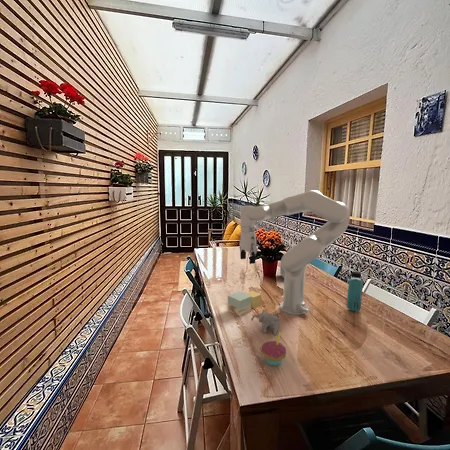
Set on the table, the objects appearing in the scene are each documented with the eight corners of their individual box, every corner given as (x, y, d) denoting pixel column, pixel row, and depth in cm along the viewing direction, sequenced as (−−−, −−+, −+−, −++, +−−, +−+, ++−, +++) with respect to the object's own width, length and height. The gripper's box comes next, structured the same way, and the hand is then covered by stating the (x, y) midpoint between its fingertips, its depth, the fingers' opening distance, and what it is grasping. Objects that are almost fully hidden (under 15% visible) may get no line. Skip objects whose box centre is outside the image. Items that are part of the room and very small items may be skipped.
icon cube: (298, 278, 173) (299, 264, 171) (284, 278, 172) (284, 264, 171) (293, 273, 183) (294, 259, 181) (280, 273, 182) (280, 259, 181)
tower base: (250, 311, 126) (251, 304, 125) (239, 317, 120) (239, 309, 120) (239, 306, 132) (239, 298, 131) (227, 311, 126) (227, 303, 126)
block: (260, 305, 133) (261, 294, 132) (253, 308, 129) (253, 297, 128) (252, 301, 137) (252, 290, 136) (244, 304, 133) (244, 293, 132)
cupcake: (282, 354, 93) (283, 323, 92) (288, 371, 85) (290, 337, 83) (258, 354, 93) (259, 323, 91) (262, 371, 85) (264, 337, 83)
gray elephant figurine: (282, 336, 105) (283, 319, 104) (252, 336, 105) (253, 318, 104) (277, 324, 114) (278, 308, 113) (250, 324, 114) (251, 308, 113)
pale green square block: (251, 304, 125) (251, 296, 125) (239, 309, 120) (239, 301, 119) (239, 298, 131) (239, 291, 131) (227, 303, 126) (228, 295, 125)
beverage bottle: (352, 315, 124) (356, 275, 121) (342, 308, 130) (346, 270, 127) (363, 313, 126) (367, 274, 123) (353, 307, 132) (357, 269, 129)
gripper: (263, 231, 129) (262, 264, 131) (245, 226, 144) (245, 256, 147) (249, 232, 126) (249, 266, 128) (233, 227, 141) (234, 258, 143)
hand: (247, 261), depth 137 cm, fingers open, 9 cm apart
